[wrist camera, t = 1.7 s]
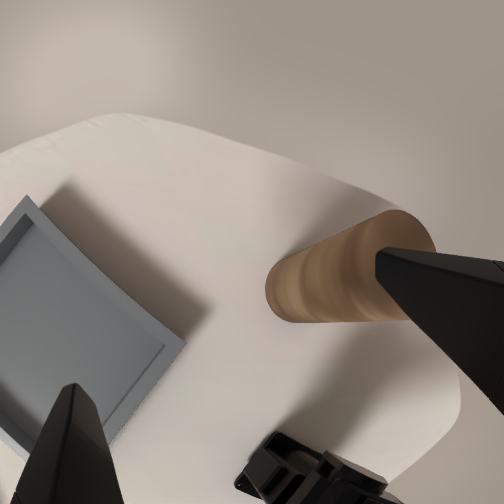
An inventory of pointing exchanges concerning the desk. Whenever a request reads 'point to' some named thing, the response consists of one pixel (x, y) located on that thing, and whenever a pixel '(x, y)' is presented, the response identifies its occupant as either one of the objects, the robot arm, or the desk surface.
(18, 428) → the tray
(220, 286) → the desk surface
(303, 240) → the desk surface
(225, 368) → the desk surface
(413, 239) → the wooden cylinder
